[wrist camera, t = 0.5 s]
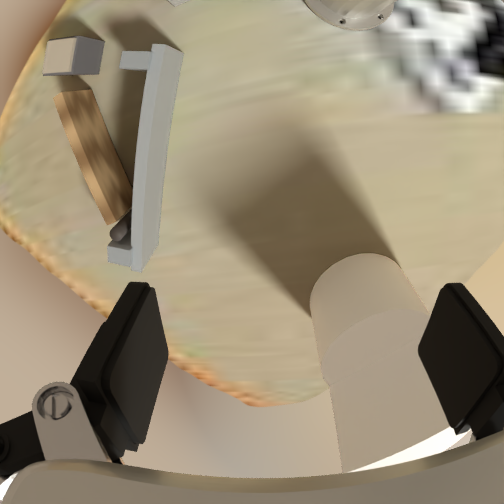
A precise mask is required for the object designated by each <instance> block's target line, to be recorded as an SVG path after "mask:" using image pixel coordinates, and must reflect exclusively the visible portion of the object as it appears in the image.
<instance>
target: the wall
mask: <svg viewBox="0 0 504 504" xmlns="http://www.w3.org/2000/svg"><path fill="white" fill-rule="evenodd" d="M183 55H184V53H182V52H180V51H178V50H176V49H174V48H172V47H170V46H168V45H166V44H152V49H151V52H150V51H122V55H121V61H120V66H119V68H120V69H128V70H136V71H143V72H147V75H146V81H145V87H144V93H143V100H142V107H141V114H140V121H139V129H138V138H137V148H136V158H135V170H134V183H133V200H132V223H131V229H130V230H129V231H128V232H127V233H126V234H125V236H124V237H123V238H122V239H121V240H120V241H114V240H112V241H111V242H110V243H109V245H108V246H107V250H108V262H110V263H114V264H119V265H123V266H128V267H130V266H131V270H132V271H137V272H142V271H143V269H144V267H145V266H146V264H147V262H148V261H149V259H150V257H151V256H152V254H153V252H154V251H155V249H156V248H157V246H158V243H159V228H160V215H161V204H162V193H163V183H164V174H165V166H166V157H167V150H168V142H169V135H170V128H171V121H172V115H173V109H174V103H175V97H176V91H177V86H178V80H179V75H180V70H181V65H182V60H183Z"/></svg>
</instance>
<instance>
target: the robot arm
mask: <svg viewBox="0 0 504 504" xmlns="http://www.w3.org/2000/svg"><path fill="white" fill-rule="evenodd" d="M396 1H397V0H305V2H306V4H307V5H308V6H309V8H310V9H311V10H312V11H313V12H314V13H315V14H316V15H317V16H318V17H320V18H321V19H323V20H324V21H326V22H328V23H330V24H331V25H334V26H336V27H339V28H342V29H347V30H357V31H361V30H368V29H371V28H374V27H376V26H378V25H380V24H382V23H383V22H385V21H386V20H387V19H388V17H389V16H390V15H391V13H392V10H393V7H394V2H396ZM502 1H503V2H504V0H502ZM378 17H380V19H379V18H378ZM339 21H342V22H343V24H341V23H340V22H339ZM418 355H419V357H420V360H421V362H422V364H423V366H424V368H425V370H426V372H427V375H428V377H429V379H430V381H431V383H432V386H433V388H434V390H435V392H436V395H437V397H438V399H439V402H440V404H441V407H442V409H443V411H444V414H445V416H446V419H447V421H448V424H449V426H450V427H451V428H453V429H454V432H455V434H456V435H459V434H462V433H465V432H468V431H469V430H470V428H471V429H472V432H473V433H472V435H471V439H470V442H469V444H466V445H463V446H460V447H457V448H454V449H451V450H448V451H445V452H441V453H438V454H434V455H431V456H427V457H424V458H420V459H416V460H412V461H408V462H403V463H399V464H395V465H390V466H385V467H380V468H374V469H368V470H362V471H356V472H349V473H341V474H333V475H324V476H311V477H295V478H229V477H213V476H202V475H191V474H181V473H173V472H165V471H159V470H152V469H146V468H140V467H134V466H128V465H125V464H124V462H123V460H122V458H121V457H122V456H123V455H124V451H125V449H126V450H130V451H136V452H137V449H138V446H139V444H143V443H144V442H145V439H146V435H147V431H148V427H149V424H150V420H151V416H152V413H153V409H154V406H155V402H156V398H157V395H158V391H159V388H160V384H161V381H162V377H163V374H164V371H165V367H166V364H167V361H168V347H167V343H166V338H165V334H164V330H163V325H162V321H161V316H160V312H159V307H158V302H157V297H156V292H155V289H154V288H153V287H150V286H149V284H148V283H147V282H129V284H128V285H127V287H126V288H125V290H124V292H123V293H122V295H121V297H120V298H119V300H118V302H117V303H116V305H115V307H114V308H113V310H112V312H111V314H110V315H109V317H108V319H107V320H106V322H104V323H103V324H102V325H101V327H100V329H99V331H98V332H97V334H96V336H95V338H94V339H93V341H92V343H91V345H90V347H89V348H88V350H87V352H86V354H85V356H84V358H83V360H82V361H81V363H80V365H79V367H78V369H77V371H76V373H75V375H74V377H73V378H72V380H71V383H70V384H68V383H65V382H54V383H50V384H48V385H46V386H44V387H42V388H41V389H40V390H39V391H38V392H37V394H36V395H35V397H34V399H33V403H32V411H30V412H28V413H26V414H23V415H21V416H19V417H17V418H14V419H12V420H10V421H7V422H5V423H2V424H0V504H504V336H503V335H502V333H501V332H500V331H499V329H498V328H497V327H496V325H495V324H494V323H493V321H492V320H491V319H490V317H489V316H488V315H487V314H486V313H485V311H484V310H483V309H482V307H481V306H480V305H479V303H478V302H477V301H476V300H475V298H474V297H473V296H472V295H471V294H470V293H469V291H468V290H467V289H466V288H465V286H464V285H463V284H462V283H447V284H445V286H444V287H443V288H442V289H441V290H440V292H439V295H438V298H437V300H436V303H435V306H434V308H433V311H432V314H431V316H430V319H429V321H428V324H427V326H426V329H425V331H424V333H423V336H422V338H421V341H420V343H419V345H418Z"/></svg>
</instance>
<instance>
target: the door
mask: <svg viewBox="0 0 504 504" xmlns="http://www.w3.org/2000/svg"><path fill="white" fill-rule="evenodd" d="M53 99H54V102H55V105H56V108H57V111H58V113H59V116H60V119H61V121H62V124H63V127H64V129H65V132H66V135H67V137H68V140H69V142H70V145H71V147H72V150H73V152H74V154H75V157H76V159H77V162H78V164H79V166H80V169H81V171H82V173H83V175H84V178H85V180H86V182H87V184H88V186H89V189H90V191H91V193H92V195H93V197H94V199H95V201H96V204H97V206H98V208H99V210H100V212H101V214H102V216H103V218H104V220H105V222H106V224H107V225H109V224H112V223H114V222H116V221H117V220H118V219H119V218H120V217H121V216H122V215H123V214H124V213H125V212H126V211H127V210H128V209H129V208H130V207H131V206H132V200H133V190H132V188H131V185H130V183H129V181H128V179H127V176H126V174H125V172H124V169H123V167H122V165H121V162H120V160H119V158H118V155H117V153H116V151H115V148H114V146H113V143H112V141H111V138H110V136H109V134H108V131H107V129H106V126H105V123H104V121H103V118H102V116H101V113H100V111H99V108H98V105H97V103H96V100H95V97H94V94H93V92H92V90H78V91H66V92H61V93H60V94H58V95H57V96H55V97H54V98H53ZM131 223H132V209H131V210H130V211H129V212H128V213H127V214H126V215H125V216H124V217H123V218H122V219H121V220H120V221H119V222H118V223H117V224H116V225H115V226H114V227H113V228H112V229H111V231H110V237H111V238H112V239H113V240H114V241H120V240H121V239H122V238H123V237H124V236H125V234H126V233H127V232H128V231H129V230H130V229H131Z"/></svg>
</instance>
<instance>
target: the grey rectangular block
mask: <svg viewBox="0 0 504 504" xmlns="http://www.w3.org/2000/svg"><path fill="white" fill-rule="evenodd" d="M104 43H105V41H101V40H97V39H92V38H88V37H83V36H72V37H64V38H57V39H50V40H49V41H47V47H46V52H45V58H44V65H43V72H42V74H43V76H55V75H97V74H99V71H100V65H101V59H102V54H103V48H104Z"/></svg>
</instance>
